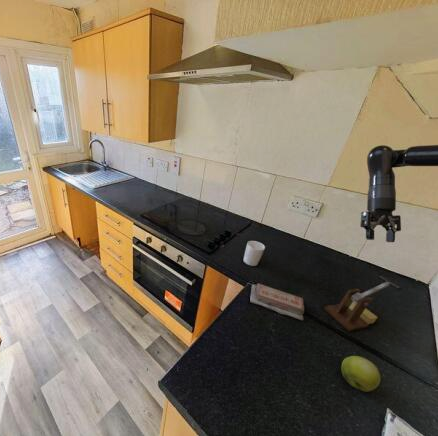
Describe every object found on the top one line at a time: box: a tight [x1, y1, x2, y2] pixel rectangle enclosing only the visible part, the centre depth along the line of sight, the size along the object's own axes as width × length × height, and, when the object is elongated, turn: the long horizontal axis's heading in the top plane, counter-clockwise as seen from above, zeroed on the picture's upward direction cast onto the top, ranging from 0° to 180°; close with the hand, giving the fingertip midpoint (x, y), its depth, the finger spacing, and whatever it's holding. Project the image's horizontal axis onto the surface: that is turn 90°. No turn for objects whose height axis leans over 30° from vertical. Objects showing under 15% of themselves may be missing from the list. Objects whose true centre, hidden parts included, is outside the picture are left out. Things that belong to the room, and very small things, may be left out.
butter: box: [349, 302, 378, 325], centre depth 86 cm, size 4×8×3 cm, turn 13°
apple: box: [340, 355, 382, 393], centre depth 63 cm, size 8×9×8 cm
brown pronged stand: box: [323, 288, 373, 332], centre depth 82 cm, size 9×10×12 cm
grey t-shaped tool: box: [351, 274, 403, 304], centre depth 80 cm, size 15×6×2 cm, turn 104°
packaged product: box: [249, 283, 305, 321], centre depth 88 cm, size 18×5×10 cm
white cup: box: [243, 240, 266, 267], centre depth 110 cm, size 8×8×10 cm
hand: (380, 240), depth 85 cm, fingers open, 8 cm apart
